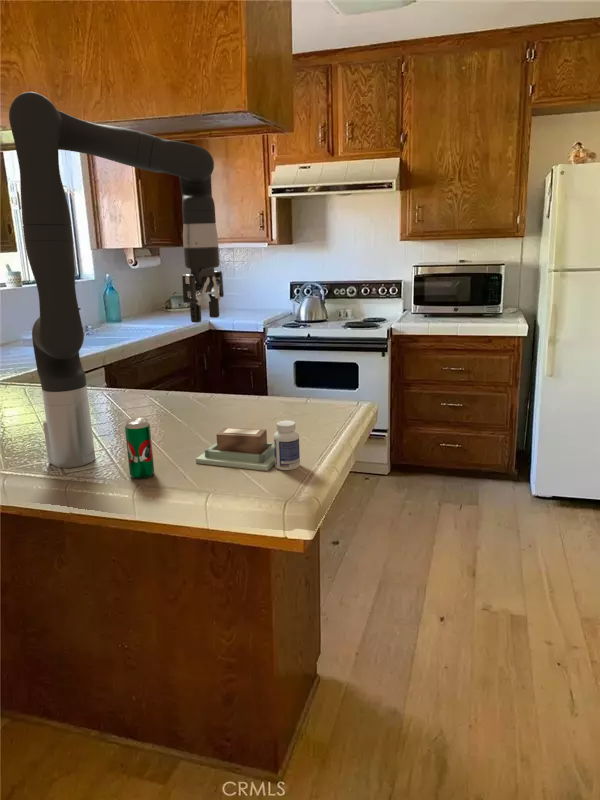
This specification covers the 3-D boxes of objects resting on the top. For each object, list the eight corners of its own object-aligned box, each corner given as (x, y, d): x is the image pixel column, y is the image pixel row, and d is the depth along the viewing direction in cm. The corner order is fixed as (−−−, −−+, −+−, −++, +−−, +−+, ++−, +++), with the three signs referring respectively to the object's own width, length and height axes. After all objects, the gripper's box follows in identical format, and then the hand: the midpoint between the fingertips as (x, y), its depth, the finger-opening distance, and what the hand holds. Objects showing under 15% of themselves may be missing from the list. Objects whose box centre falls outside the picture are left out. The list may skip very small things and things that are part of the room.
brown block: (217, 455, 137) (216, 433, 136) (225, 448, 142) (224, 426, 140) (260, 458, 135) (259, 435, 133) (267, 450, 140) (266, 428, 138)
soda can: (156, 470, 132) (151, 416, 129) (152, 479, 127) (146, 423, 124) (133, 471, 132) (127, 417, 129) (127, 480, 127) (121, 424, 124)
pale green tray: (196, 463, 136) (195, 450, 135) (218, 446, 146) (218, 434, 145) (267, 470, 130) (266, 457, 129) (285, 453, 140) (285, 441, 139)
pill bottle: (305, 465, 133) (303, 422, 130) (288, 472, 129) (286, 428, 126) (286, 460, 136) (285, 417, 134) (269, 467, 132) (267, 423, 130)
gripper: (200, 246, 127) (205, 324, 131) (230, 244, 140) (234, 316, 144) (168, 246, 130) (174, 323, 134) (201, 245, 142) (206, 315, 147)
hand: (205, 319), depth 139 cm, fingers open, 8 cm apart
